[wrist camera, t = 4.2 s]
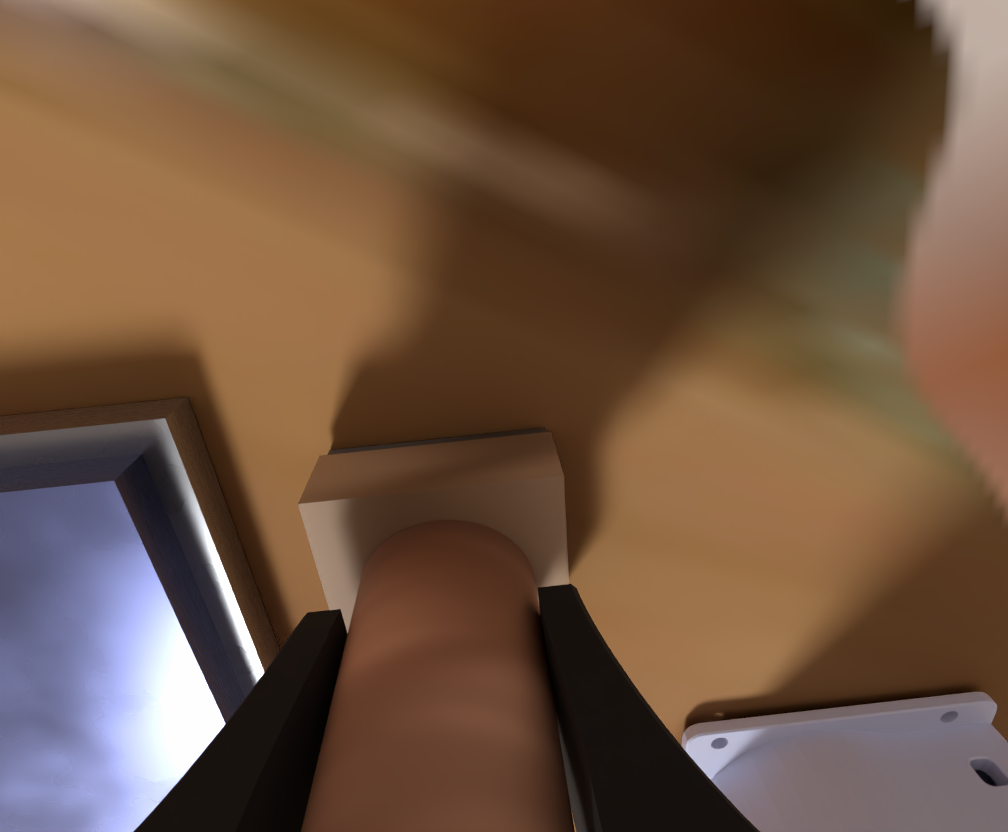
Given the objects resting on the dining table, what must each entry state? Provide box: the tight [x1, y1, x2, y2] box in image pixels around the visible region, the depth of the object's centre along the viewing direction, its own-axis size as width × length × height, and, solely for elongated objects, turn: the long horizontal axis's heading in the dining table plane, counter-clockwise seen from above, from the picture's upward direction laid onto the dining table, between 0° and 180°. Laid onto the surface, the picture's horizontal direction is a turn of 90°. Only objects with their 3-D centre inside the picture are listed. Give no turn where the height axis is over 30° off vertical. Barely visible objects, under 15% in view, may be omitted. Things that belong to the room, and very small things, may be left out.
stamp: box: [298, 428, 575, 832], centre depth 10 cm, size 5×5×8 cm
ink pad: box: [0, 397, 280, 832], centre depth 14 cm, size 10×12×2 cm
